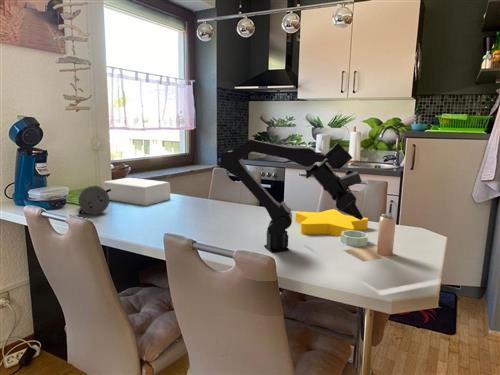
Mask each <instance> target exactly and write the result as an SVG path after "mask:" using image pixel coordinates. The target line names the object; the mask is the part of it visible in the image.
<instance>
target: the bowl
mask: <svg viewBox="0 0 500 375" xmlns="http://www.w3.org/2000/svg"><path fill="white" fill-rule="evenodd" d="M339 241H340V242H341V243H342V244H345V245H347V246H351V247H357V248H360V247H367V246H368V243H369V234H368V233H366V232H364V231H361V230H356V231H354V230H348V231H342V233H341V236H340V240H339Z"/></svg>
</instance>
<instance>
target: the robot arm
mask: <svg viewBox="0 0 500 375" xmlns="http://www.w3.org/2000/svg"><path fill="white" fill-rule="evenodd" d="M251 153H257V154H261V155H262V154H263V155H267V156H272V157H277V158H282V159H286V160H288V161H291V162H293V163H295V164H298V165H300V166H303V167H307V168H306V169H305V173H306V174H305V178H306V179H309V178H311V176H312V177H313V178H314V180H316V182H317V183H318V184H319V185H320V186H321V188H322V189H323V190H324V191H325V192H326V193H327V194H328V195H329V197H331V199H332V200H333V201H334V205H335V207H336V208H337V209H338V210H337V211H338V212H339V211H340V213H344V214H346V215H348V216H353V217H355V218H357V219H359V220H362V219H363V215H362V214H361V211H360V210H359V208H358V207H357V205H356V203H357V197H356V196H355V195H354V193H353V192H352V190H351V188H350V187H351V186H354V185H357V184H358V185H359V184H361V183H362V182H363V180H362V178H361V176H360V173H359V172H358V171H353V170H351V169H348V170H345V175H343V176H341V177H340V176H339V175H338V174H336V173H335V172H334V171H333V170H337V169H338V170H340V169H342V168H343V167H344V166H345V165H346V164H348V163H349V162H350V161H352V159H353V156H352V155H351V154H350V153H349V152H348V150H347V149H345V148H344V147H343V146H342V145H341V144H340V143H339V142H336V143H335V144H334V145H333V146H332V148H330V149H329V150H328V151H327V152H326V153H324V152H317V151H315V149H314V148H312V147H307V146H305V147H304V146H303V147H301V146H285V145H280V144H275V143H269V142H266V141H262V140H261V141H260V140H256V139H253V138H250V139H248V140H246V141H245V142H244V143H243V144H241V145H240V146H238V147H236V148H235V149H233V150H228V151H225V152H224V153H222V154H221V155H220V157H219V164H220V166H221V167H222V168H223V169H224V170H225V171H227V172H228V173H229V174H231V175H232V176H234V177H236V178H237V179H238V180H240V181H241V183H242V185H244V186H245V187H246V188H247V190H248V191H249V192H250V193H251V194H252V195H253V197H255V198H256V200H258V202H259V203H260V204H261V205H262V206H263V207H264V208H265V210H266V212H267V214H268V216H269V218H270V221H269V223H268V226H267V230H266V244H263V245H264V246H263V247H265V249H267V250H268V251H270V252H271V253H279V252H286V251H287V252H288V251H290V249H289V235H288V231H287V229H289V228H291V225H292V222H293V212H292V208H290V207H288V205H287V204H286V202H285V201H284V200H283V201H282V202H279V201H277V200H275V198H274V197H273V196H272V195H271V194H270V193H269V192H268V191H267V189H266V188H265V187H264V186H263V185H262V184H261V183H260V181H259V180H258V179H257V178H256V177H255V176H254V175H253V174H252V173H251V172H250V170H249V169H248V167H247V165H246V163H245V161H244V159H243V158H245V157H247V156H248V155H250V154H251ZM317 163H320V164H317ZM329 166H330V167H331V168H330V167H329ZM308 167H309V168H308ZM310 167H311V168H310ZM332 169H333V170H332Z"/></svg>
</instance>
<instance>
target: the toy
mask: <svg viewBox="0 0 500 375" xmlns="http://www.w3.org/2000/svg"><path fill="white" fill-rule="evenodd" d="M110 191H111V189H108V190H106V191H105V190H104V188H102V187H100V186H95V185H94V186H88V187H86V188H85V189H83V190H82V191H81V192H80V194H79V195H78V199H77V200H78V205H79V208H80V210H79V211H78V214H82V213H83V212H84V213H86V214H87V215H99V214H101V213H103V212H104V211H106V210H107V208H108V207H109V205H110V200H109V195H108V193H107V192H110Z"/></svg>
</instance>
